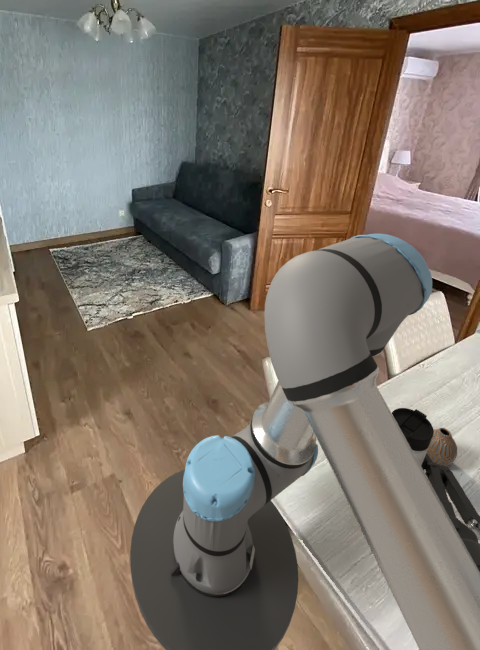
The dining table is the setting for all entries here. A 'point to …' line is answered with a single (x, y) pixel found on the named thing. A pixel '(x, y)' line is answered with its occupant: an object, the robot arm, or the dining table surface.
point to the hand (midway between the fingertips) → (384, 432)
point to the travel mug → (415, 430)
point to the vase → (442, 447)
